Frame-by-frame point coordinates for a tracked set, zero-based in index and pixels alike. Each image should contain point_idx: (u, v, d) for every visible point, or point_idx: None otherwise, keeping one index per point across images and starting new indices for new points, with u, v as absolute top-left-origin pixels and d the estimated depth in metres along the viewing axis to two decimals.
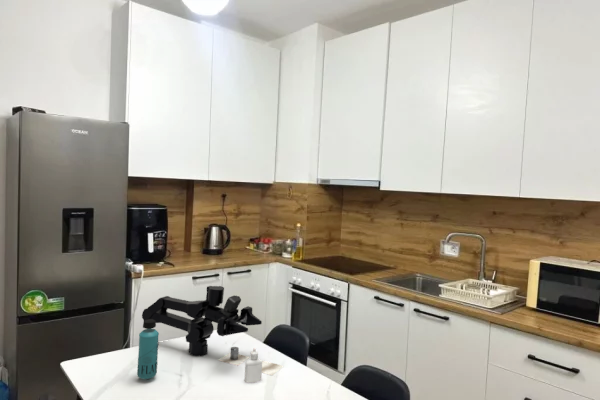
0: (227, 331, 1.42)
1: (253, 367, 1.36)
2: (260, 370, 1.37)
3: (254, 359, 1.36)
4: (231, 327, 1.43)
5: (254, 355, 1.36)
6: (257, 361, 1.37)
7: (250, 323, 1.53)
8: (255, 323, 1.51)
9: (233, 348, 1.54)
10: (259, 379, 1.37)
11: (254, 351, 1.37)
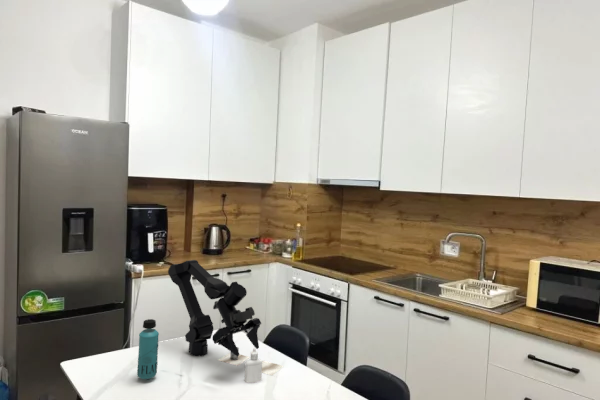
0: (221, 342, 1.37)
1: (253, 367, 1.36)
2: (260, 370, 1.37)
3: (254, 359, 1.36)
4: (227, 341, 1.38)
5: (254, 355, 1.36)
6: (257, 361, 1.37)
7: (249, 338, 1.46)
8: (253, 343, 1.44)
9: None
10: (259, 379, 1.37)
11: (254, 351, 1.37)
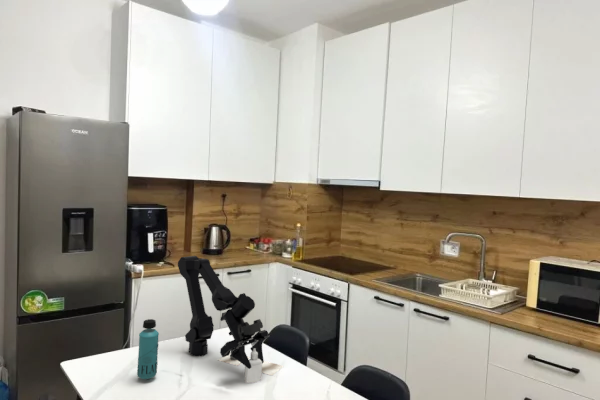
0: (233, 354, 1.36)
1: (253, 367, 1.36)
2: (260, 370, 1.37)
3: (254, 359, 1.36)
4: (239, 353, 1.36)
5: (254, 355, 1.36)
6: (257, 361, 1.37)
7: None
8: None
9: None
10: (259, 379, 1.37)
11: (254, 351, 1.37)
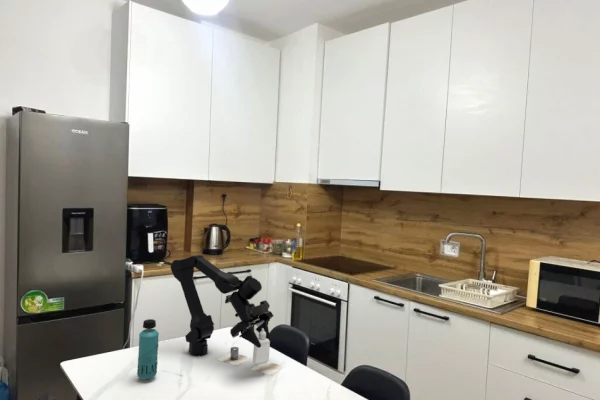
0: (242, 335, 1.39)
1: (262, 346, 1.40)
2: (268, 349, 1.42)
3: (263, 338, 1.41)
4: (248, 333, 1.40)
5: (263, 334, 1.40)
6: (266, 340, 1.41)
7: None
8: None
9: (233, 348, 1.54)
10: (267, 357, 1.42)
11: (262, 331, 1.41)
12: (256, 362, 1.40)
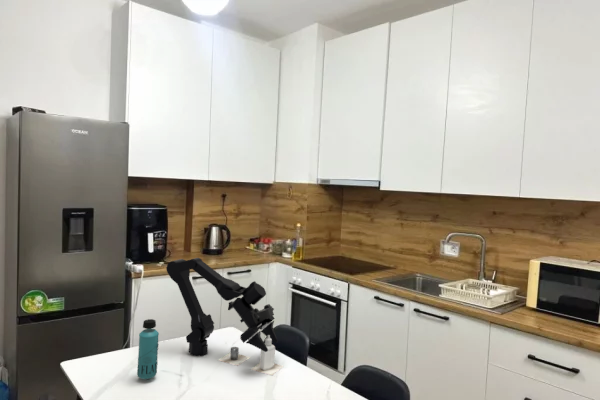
0: (249, 341, 1.42)
1: (269, 353, 1.46)
2: (274, 354, 1.48)
3: (269, 345, 1.46)
4: (254, 338, 1.43)
5: (269, 341, 1.46)
6: (272, 346, 1.47)
7: (266, 334, 1.53)
8: (271, 338, 1.52)
9: (233, 348, 1.54)
10: (273, 362, 1.48)
11: (269, 338, 1.47)
12: (264, 368, 1.45)
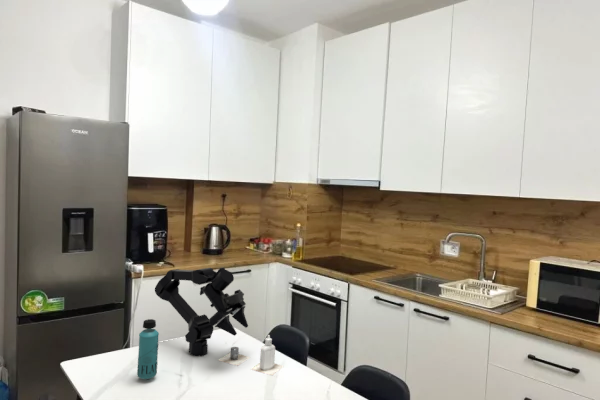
0: (218, 324, 1.44)
1: (269, 353, 1.46)
2: (274, 354, 1.48)
3: (269, 345, 1.47)
4: (223, 322, 1.45)
5: (269, 341, 1.47)
6: (272, 346, 1.47)
7: (237, 319, 1.55)
8: (241, 323, 1.54)
9: (233, 348, 1.54)
10: (273, 363, 1.48)
11: (269, 337, 1.47)
12: (264, 368, 1.45)
